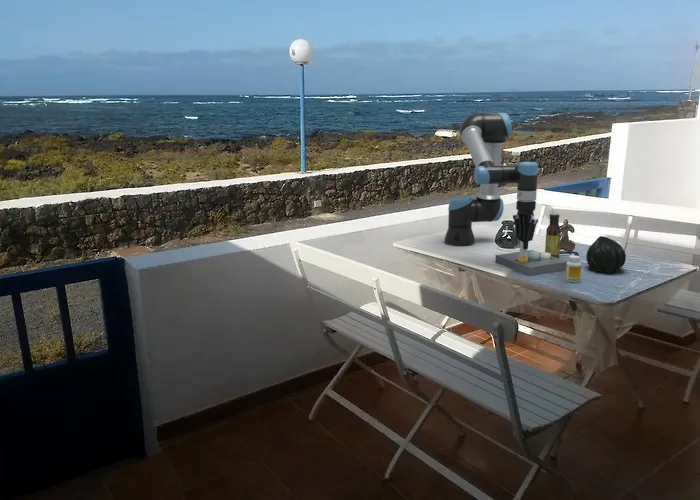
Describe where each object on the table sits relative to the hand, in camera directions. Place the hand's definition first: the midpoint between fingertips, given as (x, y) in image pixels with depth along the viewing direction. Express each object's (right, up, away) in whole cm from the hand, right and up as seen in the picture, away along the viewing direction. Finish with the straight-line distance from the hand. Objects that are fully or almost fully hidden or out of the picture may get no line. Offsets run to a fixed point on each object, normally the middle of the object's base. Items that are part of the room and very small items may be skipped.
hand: (523, 256), depth 221 cm
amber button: (0, -4, +1) cm, 4 cm away
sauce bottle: (+19, -1, +18) cm, 26 cm away
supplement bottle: (+14, -10, -15) cm, 23 cm away
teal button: (+6, -2, +3) cm, 7 cm away
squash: (+33, -6, -3) cm, 34 cm away
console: (+5, -4, +5) cm, 9 cm away
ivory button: (+11, -3, +5) cm, 13 cm away
